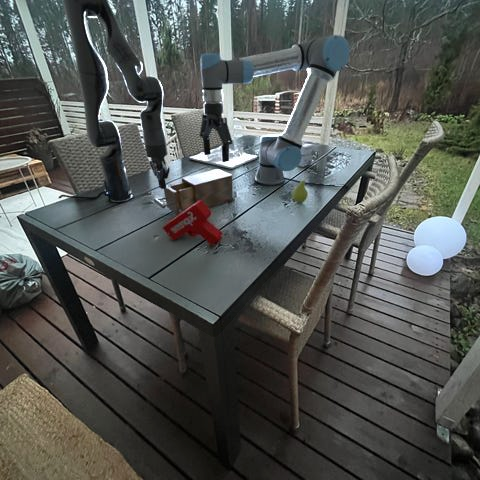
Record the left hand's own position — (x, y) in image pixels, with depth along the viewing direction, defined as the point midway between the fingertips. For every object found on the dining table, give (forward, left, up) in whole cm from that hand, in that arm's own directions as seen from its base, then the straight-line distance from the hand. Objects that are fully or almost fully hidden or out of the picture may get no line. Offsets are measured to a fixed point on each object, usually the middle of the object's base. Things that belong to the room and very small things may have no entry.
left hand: (162, 188), depth 106 cm
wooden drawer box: (+15, +14, -12) cm, 24 cm away
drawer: (+6, +6, -11) cm, 14 cm away
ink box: (+63, +71, -12) cm, 96 cm away
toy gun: (+15, -18, -12) cm, 27 cm away
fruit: (+55, +16, -12) cm, 59 cm away
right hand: (+19, +18, +7) cm, 27 cm away
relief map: (+12, +81, -12) cm, 83 cm away
